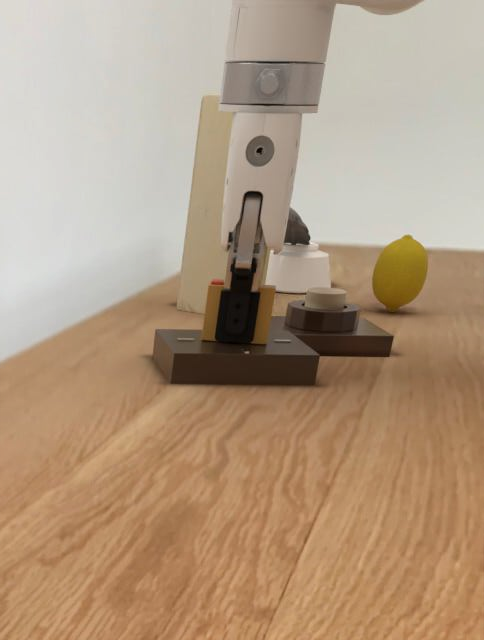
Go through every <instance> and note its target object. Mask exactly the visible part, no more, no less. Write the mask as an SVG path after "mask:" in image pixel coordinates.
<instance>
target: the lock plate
mask: <svg viewBox="0 0 484 640" xmlns="http://www.w3.org/2000/svg"><path fill="white" fill-rule="evenodd" d="M201 337H202V329H185V328H183V329H179V328H177V329H175V328H155V329H154V337H153V348H152V349H153V350H152V356H151V358H152V359H153V361H154V362H155V364H156V366H158V368H159V369H160V370H161V372H162V373H163V375H164V377H165V378H166V379H167V381H168V382H169V383H170V384H171V385H226V386H227V385H233V386H235V385H237V386H299V387H300V386H305V387H307V386H308V387H310V386H311V387H312V386H313V387H314V386H315V385H316V381H317V380H316V379H317V374H318V369H319V363H320V358H321V356H320V355H319V354H318V353H317V352H315V351H314V350H313V349H311V348H310V347H309V346H307V345H306V344H305V343H304V342H302V341H301V340H300V339H298V338H297V337H296V336H295V335H293V334H292V333H291V332H289V331H269V334H268V341H267V344H266V345H265V344H250V343H235V342H220V341H205V340H201Z"/></svg>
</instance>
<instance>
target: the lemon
mask: <svg viewBox="0 0 484 640" xmlns="http://www.w3.org/2000/svg"><path fill="white" fill-rule="evenodd" d="M428 259H429V257H428V254H427V250H426V249H425V246H423V244H421V242H420V241H418V240H416V239H414V238H413V235H411V234H404V235H403V236H402V237H401V238H398V239H394V240H393V241H392V242H390V243H389V244H387V245H386V246H385V247H384V248H383V249H382V250H381V252H380V254H379V255H378V258H377V260H376V262H375V265H374V268H373V271H372V279H371V281H372V283H371V287H372V291H373V295H374V296H375V298H376V300H377V301H378V302H380V303H381V304H382V305H383V306H384V307H385V308H386V309H387V311H388V312H389V313H395V312H396V311H398V310H399V309H400V308H401V307H404V306H406V305H408V304H410V303H412V302H413V301H414V300H415V299H416V298H417V297H418V296H419V294H420V293H421V291H422V289H423V288H424V285H425V282H426V280H427V276H428V269H429V267H428V266H429V260H428Z"/></svg>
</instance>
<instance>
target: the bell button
mask: <svg viewBox="0 0 484 640" xmlns="http://www.w3.org/2000/svg"><path fill="white" fill-rule="evenodd" d="M347 294H348V291H347V290H344V289H341V288H337V287H331V288H324V287H317V288H309V289H307V293H305V299H306V300H305V299H304V300H305V305H304V307H309V308H314V309H324V310H338V309H344V305H345V302H346V300H347Z"/></svg>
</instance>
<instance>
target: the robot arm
mask: <svg viewBox="0 0 484 640" xmlns="http://www.w3.org/2000/svg"><path fill="white" fill-rule="evenodd" d="M424 1H425V0H231V7H230V14H229V25H228V30H227V39H226V46H225V55H224V63H223V71H222V79H221V87H220V93H219V94H220V101H219V102H220V104H219V109H218V111H222V112H234V114H233V122H232V129H231V137H230V144H229V153H228V161H227V170H226V178H225V188H224V199H223V212H222V230H221V247H222V249H223V250H224V251H226V252H228V250H229V253H228V263H227V270H226V277H225V284H224V290H221V295H220V302H219V309H218V317H217V324H216V331H215V339H216V340H217V341H222V342H237V343H251V342H252V341H253V339H254V332H255V326H256V320H257V313H258V307H259V300H260V294H261V292H258V286H259V283H260V277H261V270H262V264H263V257H264V252H265V244H266V246H267V247H271V248H274V249H273V250H274V253H273V254H278V253H279V252H281V251H282V249H283V244H284V239H285V233H286V228H287V222H288V216H289V209H290V207H291V203H292V202H291V201H292V197H293V191H294V183H295V178H296V173H297V165H298V159H299V152H300V146H301V145H300V144H301V136H302V127H303V114H317V113H318V112H319V104H320V101H321V100H320V98H321V93H322V88H323V82H324V75H325V69H326V62H327V58H328V51H329V45H330V40H331V39H330V38H331V34H332V33H331V32H332V26H333V20H334V14H335V9H336V6H337V5H348V6H355V7H360V9H362V10H364V11H366V12H368V13H370V14H372V15H373V14H374V15H379V16H392V15H393V16H394V15H399V14H401V13H404V12H407V11H409V10H411V9H413V8H414V7H416V6H418V5H419V4H420V3H423V2H424ZM260 241H261V242H260ZM259 244H260V245H259ZM251 288H252V289H251ZM230 289H231V291H230Z"/></svg>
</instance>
